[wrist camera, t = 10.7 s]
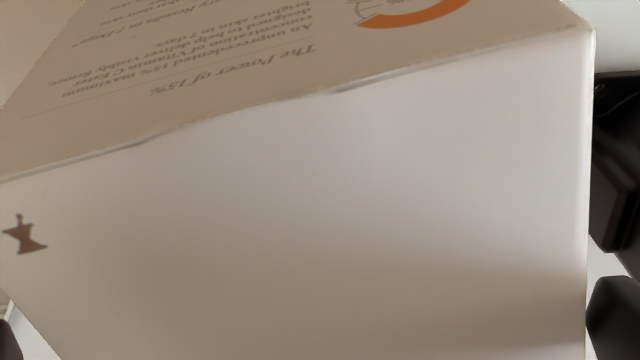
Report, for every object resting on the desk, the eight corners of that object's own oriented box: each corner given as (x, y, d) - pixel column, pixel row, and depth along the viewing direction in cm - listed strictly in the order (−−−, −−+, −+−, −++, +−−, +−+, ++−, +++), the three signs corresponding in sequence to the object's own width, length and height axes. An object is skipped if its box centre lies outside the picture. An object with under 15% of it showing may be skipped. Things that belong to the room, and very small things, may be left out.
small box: (205, 114, 21) (137, 470, 10) (127, -66, 17) (-98, 198, 7) (428, 54, 20) (596, 373, 10) (394, -148, 17) (605, 8, 6)
